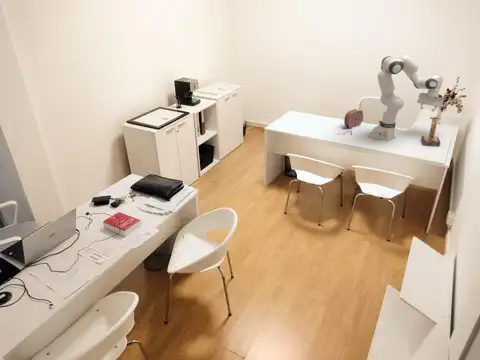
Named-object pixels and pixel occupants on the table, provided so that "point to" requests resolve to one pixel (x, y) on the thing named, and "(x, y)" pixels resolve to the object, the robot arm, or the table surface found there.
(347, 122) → the face sculpture
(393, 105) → the robot arm
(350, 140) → the table surface
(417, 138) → the table surface
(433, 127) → the eyeglasses stand
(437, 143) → the display plinth
